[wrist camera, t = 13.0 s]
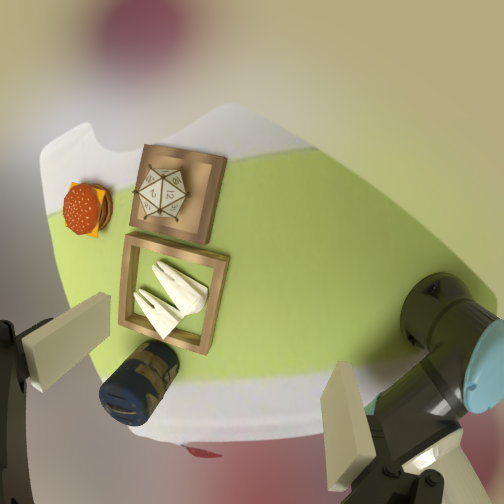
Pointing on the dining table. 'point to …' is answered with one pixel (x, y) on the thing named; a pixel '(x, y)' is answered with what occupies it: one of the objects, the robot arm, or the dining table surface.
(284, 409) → the dining table surface
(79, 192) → the hamburger
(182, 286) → the white folded napkins
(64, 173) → the dining table surface
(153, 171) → the game die
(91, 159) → the dining table surface
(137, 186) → the walnut board
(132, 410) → the canister
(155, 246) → the oak frame
